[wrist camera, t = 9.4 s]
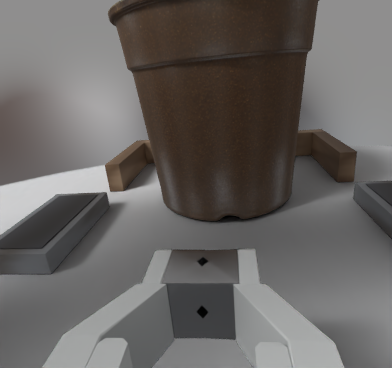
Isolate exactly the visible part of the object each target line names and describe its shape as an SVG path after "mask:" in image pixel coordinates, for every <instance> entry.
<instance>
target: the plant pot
mask: <svg viewBox="0 0 392 368" xmlns="http://www.w3.org/2000/svg"><path fill="white" fill-rule="evenodd" d="M318 1H319V0H121V1H119V2H117V3H116V4H115V5H113V6H112V7H111V8H110V10H109V11H108V16H109V19H110V22H111V23H112V24H113V25H115V26H116V27H117V31H118V34H119V37H120V41H121V45H122V49H123V53H124V56H125V60H126V64H127V68H128V69H129V70H130V71H132V73H133V76H134V80H135V84H136V88H137V92H138V96H139V100H140V104H141V108H142V112H143V117H144V120H145V125H146V129H147V133H148V137H149V141H150V145H151V149H152V153H153V157H154V162H155V166H156V170H157V174H158V178H159V182H160V186H161V191H162V195H163V200H164V203H165V204H166V206H167V207H168V208H169V209H171V210H172V211H174V212H175V213H177V214H180V215H182V216H185V217H189V218H194V219H199V220H207V221H218V220H220V219H221V218H222V217H224V216H227V215H233V216H237V217H239V218H241V219H247V218H252V217H256V216H260V215H263V214H266V213H268V212H271V211H273V210H275V209H277V208H279V207H280V206H281V205H283V204H284V203H285V202H286V201H287V200H288V199H289V197H290V195H291V190H292V180H293V172H294V162H295V153H296V144H297V135H298V126H299V117H300V109H301V100H302V91H303V83H304V75H305V66H306V58H307V53H308V52H309V51H310V50H311V49H312V42H313V35H314V27H315V19H316V11H317V5H318Z"/></svg>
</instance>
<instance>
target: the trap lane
mask: <svg viewBox="0 0 392 368" xmlns="http://www.w3.org/2000/svg"><path fill="white" fill-rule="evenodd" d="M356 154H357V152H356V151H355V150H353V149H352V148H350V147H348V146H347V145H345V144H344V143H342V142H341V141H339V140H338V139H336V138H334V137H333V136H331V135H330V134H328V133H327V132H325V131H323V130H322V129H317V130H302V131H301V130H300V131H298V135H297V144H296V153H295V156H303V155H312V156H313V157H314V158H315V159H316V161H317V162H318V163H319V164H320V165H321V166H322V167H323V168H324V169H325V170H326V171H327V172H328V173H329V174H330V175H331V176H332V177H333V178H334V179H335V180H336V181H337V182H353V181H354V172H355V163H356ZM150 163H155V162H154V157H153V153H152V149H151V145H150V141H149V140H141V141H136V142H135V143H133V144H132V145H131V146H129V147H128V148H127V149H125V150H124V151H123V152H122V153H120V154H119V155H118V156H116V157H115V158H114V159H112V160H111V161H110V162H108V163H107V164H106V165H105V168H106V173H107V178H108V183H109V187H110V191H124V190H125V189H126V187H127V186H128V185H129V184H130V183H131V182H132V181H133V179H134V178H135V177H136V176H137V175H138V174H139V173H140V171H141V170H142V169H143V168H144V167H145V166H146V165H147V164H150ZM353 199H354V200H355V201H356V202H357V203H358V204H359V205H360V206H361V207H362V208H363V209H364V210H365V211H366V212H367V213H368V214H369V215H370V216H371V217H372V218H373V219H374V220H375V222H376V223H377V224H378V225H379V226H380V227H381V228H382V229H383V230H384V231H385V232H386V233H387V234H388V235H389V236H390V237H391V238H392V181H374V182H355V188H354V196H353ZM109 207H110V206H109V201H108V196H107V192H102V193H78V194H57V195H55V196H54V197H53V198H51V199H50V200H49V201H47V202H46V203H44V204H43V205H42V206H40V207H39V208H37V209H36V210H35V211H33V212H32V213H31V214H29V215H28V216H26V217H25V218H24V219H22V220H21V221H20V222H18V223H17V224H15V225H14V226H13V227H11V228H10V229H8V230H7V231H6V232H4V233H3V234H2V235H0V274H52V272H53V271H54V270H55V269H56V268H57V267H58V266H59V264H60V263H61V262H62V261H63V260H64V259H65V258H66V256H67V255H68V254H69V253H70V252H71V251H72V249H73V248H74V247H75V246H76V245H77V244H78V243H79V241H80V240H81V239H82V238H83V237H84V236H85V235H86V233H87V232H88V231H89V230H90V229H91V228H92V227H93V225H94V224H95V223H96V222H97V221H98V220H99V218H100V217H101V216H102V215H103V214H104V213H105V212H106V210H107V209H108V208H109Z"/></svg>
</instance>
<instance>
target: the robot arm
mask: <svg viewBox="0 0 392 368" xmlns="http://www.w3.org/2000/svg"><path fill="white" fill-rule="evenodd" d="M174 338H211V339H229V340H236V342H237V344H238V345H239V347H240V348H241V350H242V351H243V353H244V354H245V356H246V357H247V359H248V361H249V362H250V364H251V365H252V367H253V368H344V365H343V363H342V360H341V358H340V355H339V353H338V350H337V347H336V345H335V343H334V342H333V341H332V340H331V339H330V338H329V337H327V336H326V335H325V334H324V333H323V332H322V331H320V330H319V329H318V328H317V327H316V326H315V325H313V324H312V323H311V322H310V321H309V320H308V319H306V318H305V317H304V316H303V315H302V314H301V313H299V312H298V311H297V310H296V309H295V308H294V307H292V306H291V305H290V304H289V303H288V302H287V301H285V300H284V299H283V298H282V297H281V296H279V295H278V294H277V293H276V292H275V291H274V290H272V289H271V288H270V287H269V286H268V285H267V284H261V281H260V274H259V268H258V261H257V255H256V250H255V248H250V249H238V251H237V249H231V250H172V249H171V250H156V251H155V252H154V255H153V257H152V259H151V262H150V264H149V267H148V269H147V271H146V274H145V276H144V279H143V281H142V283H141V284H136V285H134V286H133V287H131V288H130V289H128V290H127V291H125V292H124V293H123V294H121V295H120V296H118V297H117V298H115V299H114V300H112V301H111V302H110V303H108V304H107V305H105V306H104V307H102V308H101V309H99V310H98V311H97V312H95V313H94V314H92V315H91V316H89V317H88V318H86V319H85V320H84V321H82V322H81V323H79V324H78V325H76V326H75V327H73V328H72V329H71V330H69V331H68V332H66V333H65V334H63V335H62V337H61V338H60V340H59V342H58V343H57V345H56V346H55V348H54V349H53V351H52V353H51V354H50V356H49V357H48V359H47V360H46V362H45V364H44V365H43V367H42V368H152V367H153V366H154V364H155V363H156V362H157V361H158V360H159V358H160V357H161V356H162V355H163V353H164V352H165V351H166V350H167V349H168V347H169V346H170V345H171V344H172V342H173V341H174Z"/></svg>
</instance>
